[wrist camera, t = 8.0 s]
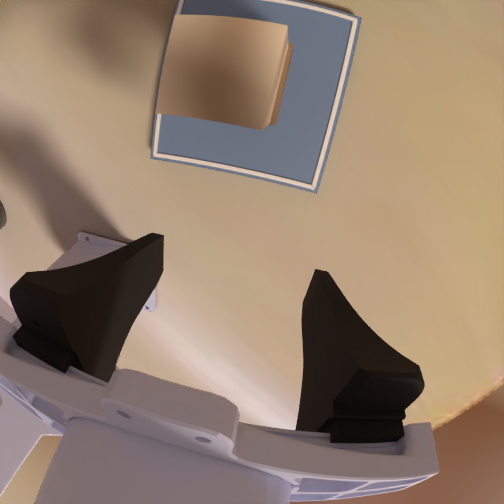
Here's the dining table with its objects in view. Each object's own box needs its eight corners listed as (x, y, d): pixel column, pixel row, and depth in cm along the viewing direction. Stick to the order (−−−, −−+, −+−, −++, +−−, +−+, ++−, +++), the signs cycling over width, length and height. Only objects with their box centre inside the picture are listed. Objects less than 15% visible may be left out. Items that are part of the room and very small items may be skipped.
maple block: (190, 107, 14) (155, 113, 10) (206, 34, 12) (175, 14, 8) (270, 122, 14) (262, 130, 10) (288, 46, 12) (287, 25, 8)
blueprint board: (155, 156, 21) (124, 172, 17) (184, -6, 14) (157, -27, 9) (315, 189, 21) (322, 215, 17) (358, 21, 14) (377, 1, 9)
